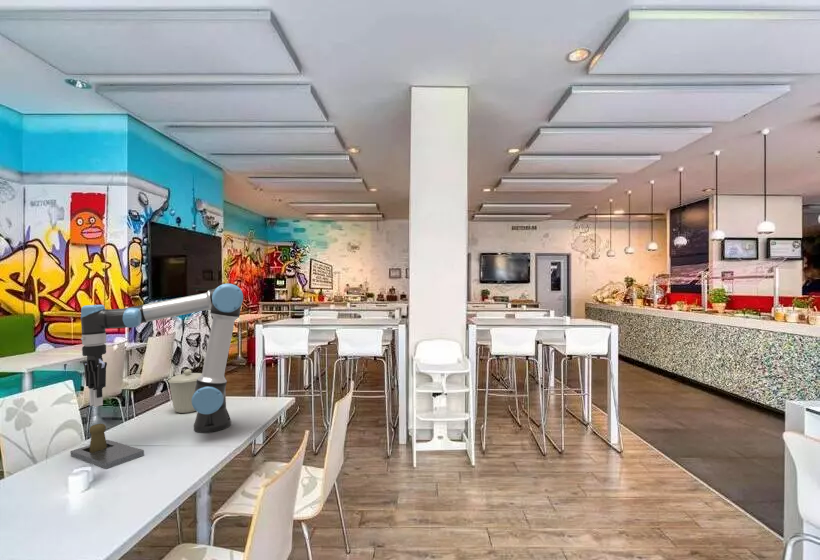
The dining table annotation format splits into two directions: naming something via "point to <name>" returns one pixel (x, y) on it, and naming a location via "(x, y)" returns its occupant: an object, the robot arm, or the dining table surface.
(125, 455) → the jig
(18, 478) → the dining table surface
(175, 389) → the canister
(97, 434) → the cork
